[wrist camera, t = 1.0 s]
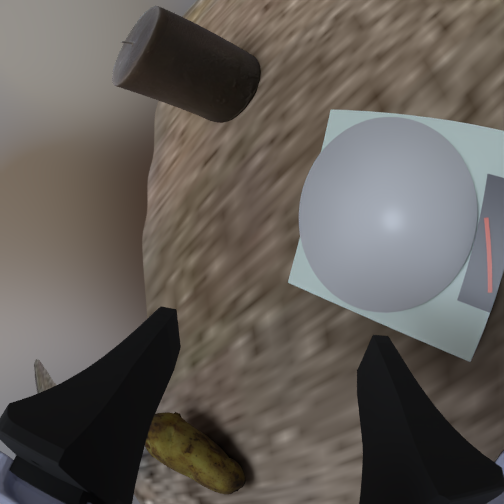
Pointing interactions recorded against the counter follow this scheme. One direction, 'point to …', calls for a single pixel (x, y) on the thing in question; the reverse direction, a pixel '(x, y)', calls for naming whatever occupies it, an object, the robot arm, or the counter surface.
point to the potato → (192, 454)
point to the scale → (406, 224)
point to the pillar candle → (186, 66)
